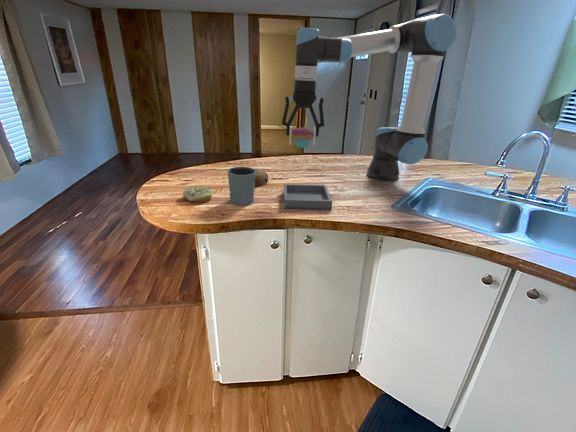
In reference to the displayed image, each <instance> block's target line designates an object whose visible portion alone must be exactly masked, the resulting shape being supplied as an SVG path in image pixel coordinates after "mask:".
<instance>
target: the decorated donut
mask: <svg viewBox="0 0 576 432" xmlns="http://www.w3.org/2000/svg"><path fill="white" fill-rule="evenodd" d="M182 196H183V198H184V199H185V200H186V201H187V202H190V203H194V204H201V203H202V204H203V203H207V202H209V201H210V200H211V199H212V197H213V190H212V189H211V188H209V187H206V186H202V185H201V186H199V185H197V186H196V185H195V186H190V187H188V188H185V189H184V190H183V192H182Z"/></svg>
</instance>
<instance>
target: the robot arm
mask: <svg viewBox="0 0 576 432" xmlns="http://www.w3.org/2000/svg"><path fill="white" fill-rule="evenodd" d="M456 38H457V24H456V23H455V22H454V19H453V17H452V16H450V15H449V14H446V13H441V14H439V13H438V14H437V13H436V14H432V15H428V16H425V17H420V18H419V17H418V18H415V19H412V20H409V21H406V22H403V23H400V24H395V25H391V26H390V27H389V28H388V29H383V30H382V29H381V30H378V31H371V32H369V31H368V32H365V33H358V34H352V35H345V36H339V37H330V36H323V35H320V30H319V28H316V27H315V28H314V27H301V28H299V29H298V30H297V32H296V40H295V65H294V78H295V80H294V90H293V94H292V96H290V95H289V96H285V106H284V111H283V117H282V120H281V124H282V126H285V127H286V133H285V135H286V136H289V138H288V139H289V140H288V145H289V146H292V137H291V134H292V131H293V129H292V128H293V126H291V124H292V122H293V120H294V118H295V117H296V114H297V112H298V110H299V108H300V109H302V108H303V109H304V108H305V109H309V111H310V114H311V117H312V120H313V123H314V125H315V126H314V127H313V129H312V130H313V131H312V132H313V134H314V135H313V138H312V145H311V146H312V147H315V146H316V138H317V137H319V134H320V133H319V132H320V128H321V127H324V126H325V119H324V108H323V105H324V100H325V99H324V98H323V97H319V96H317V95H316V89H317V87H316V85H317V82H316V79H317V71H318V64H320V63H338V64H340V63H347V62H349V60H350V59H351V58H353V57H355V58H356V57H361V56H366V55H373V54H378V53H379V54H380V53H383V52H389V53H390V54H395V53H411V54H410V57H411V59H412V61H413V64H412V65H413V66H412V70H411V75H410V80H409V84H408V89H407V94H406V98H405V104H404V109H403V113H402V118H401V123H400V125H399V126H398V127H393V126H391V127H389V126H386V127H384V126H382V127H379V128H377V130H376V134H375V140H374V147H373V152H372V153H373V155H372V158H371V160H370V161H371V162H370V163H369V166H368V168H367V170H366V175H367V176H368V177H369V178H371V179H375V180H379V181H380V180H381V181H395V180H398V179H399V178H400V168H399V162H400V163H402V164H405V165H415V164H417V163H419V162H420V161H421V160H422V159H423V158H424V157H425V156H426V155H427V152H428V148H429V144H428V143H427V142H428V141H427V140H426V139H425V136H426V130H425V129H424V128H423V127H424V123H425V119H426V115H427V109H428V107H429V101H430V98H431V94H432V93H431V92H432V90H433V86H434V80H435V77H436V73H437V72H436V71H437V69H438V64H439V62H440V61H442V59H444V57H445V53H446V51H447V50H448V49H450V48H451V46H453V45H454V42H455V40H456ZM292 100H293V102H294V103H295V106H294V108H293V111H292V113H291V114H290V117H289V118H288V121H287V116H288V111H289V108H290V107H289V106H290V103H292ZM315 101H316V103H317V104H318V113H319V122H318V118H317V116H316V113H315V110H314V106H313V105H314V103H315Z"/></svg>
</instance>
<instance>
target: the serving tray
mask: <svg viewBox="0 0 576 432" xmlns="http://www.w3.org/2000/svg"><path fill="white" fill-rule="evenodd" d="M283 206H284V207H283V208H284V209H283V210H307V211H308V210H309V211H310V210H313V211H314V210H315V211H332V210H333V209H332V208H333V200H332V196H331V194H330V192H329V188H328V187H327V184H304V183H303V184H302V183H301V184H297V183H295V184H293V183H291V184H290V183H283Z"/></svg>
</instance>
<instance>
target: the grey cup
mask: <svg viewBox="0 0 576 432" xmlns="http://www.w3.org/2000/svg"><path fill="white" fill-rule="evenodd" d="M255 169H256V168H252V167H249V166H232V167H230V168H228V169H227V178H228V189H229V199H230V203H231V204H232V205H234V206H241V207H242V206H244V207H245V206H249V205H252V204H253V203H254V197H255V186H256V185H255V184H254V183H255V176H256V170H255Z"/></svg>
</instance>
